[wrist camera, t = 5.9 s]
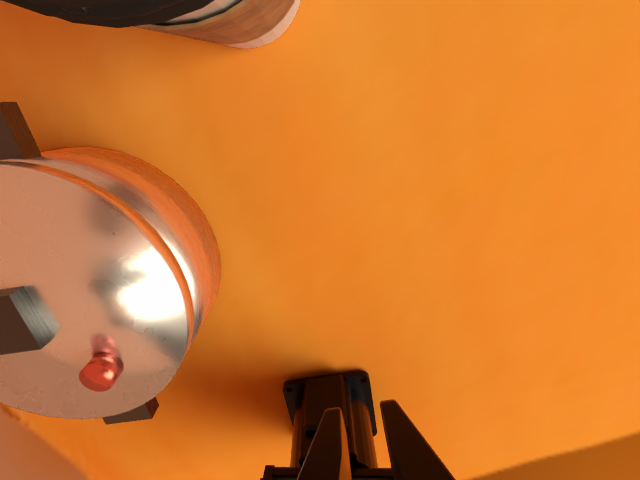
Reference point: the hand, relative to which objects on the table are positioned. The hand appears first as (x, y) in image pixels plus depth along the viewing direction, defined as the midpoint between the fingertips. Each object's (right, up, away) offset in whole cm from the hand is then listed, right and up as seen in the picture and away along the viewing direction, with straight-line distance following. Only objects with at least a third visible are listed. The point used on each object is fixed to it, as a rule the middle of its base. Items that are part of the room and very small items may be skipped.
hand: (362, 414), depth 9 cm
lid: (-15, +2, +8) cm, 17 cm away
